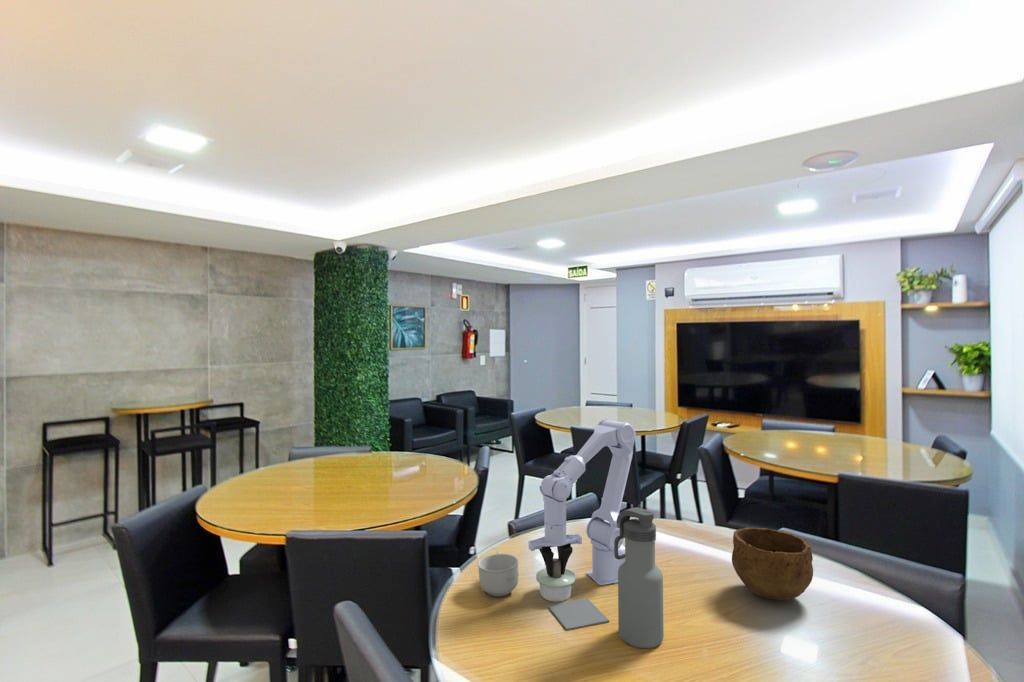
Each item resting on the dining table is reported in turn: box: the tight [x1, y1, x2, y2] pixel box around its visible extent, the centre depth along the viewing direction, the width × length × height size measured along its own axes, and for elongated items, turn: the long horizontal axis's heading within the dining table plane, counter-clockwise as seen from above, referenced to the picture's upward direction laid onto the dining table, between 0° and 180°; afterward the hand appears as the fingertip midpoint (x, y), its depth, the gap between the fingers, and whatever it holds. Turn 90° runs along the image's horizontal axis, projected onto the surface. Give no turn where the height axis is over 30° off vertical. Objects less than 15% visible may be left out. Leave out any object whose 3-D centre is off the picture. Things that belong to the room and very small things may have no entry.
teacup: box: [477, 550, 519, 597], centre depth 133 cm, size 14×11×8 cm
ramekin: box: [539, 583, 572, 603], centre depth 130 cm, size 9×9×4 cm
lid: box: [535, 557, 577, 588], centre depth 130 cm, size 10×10×5 cm
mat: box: [547, 598, 610, 631], centre depth 120 cm, size 11×11×1 cm
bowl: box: [731, 527, 814, 601], centre depth 129 cm, size 19×19×15 cm
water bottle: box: [614, 507, 665, 649], centre depth 111 cm, size 10×10×28 cm
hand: (555, 574), depth 130 cm, fingers closed on lid, 3 cm apart
